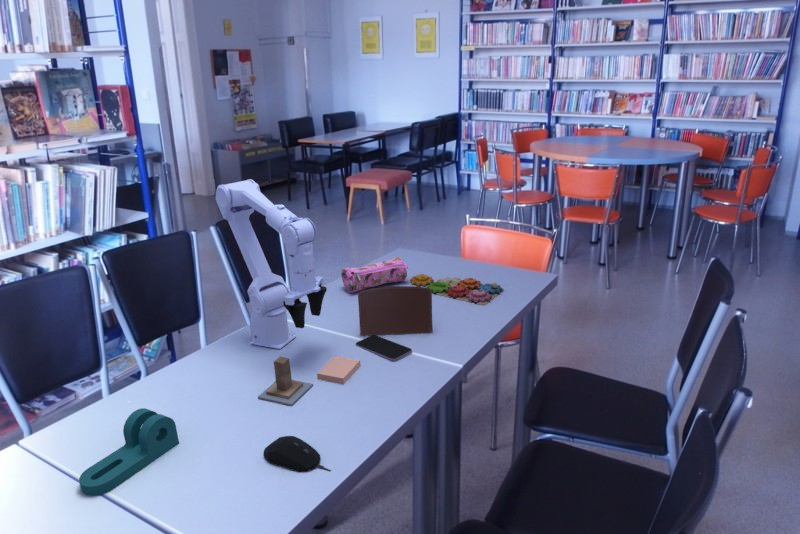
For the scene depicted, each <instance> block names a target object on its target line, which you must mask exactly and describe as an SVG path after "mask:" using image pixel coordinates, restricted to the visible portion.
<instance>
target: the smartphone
mask: <svg viewBox="0 0 800 534" xmlns="http://www.w3.org/2000/svg"><path fill="white" fill-rule="evenodd" d="M355 346H356V347H358V348H360V349H362V350H365V351H367V352H370V353H371V354H373V353H374V355H376V356H378V357H380V358H383V359H384V360H388V361H389V362H392V363H393V362H398V361H400V360H401V359H404V358H405V357H408V356H409V355H411V354H412V352H413V349H412V348H410V347H407V346H406V345H402V344H401V343H398V342H395V341H393V340H389V339H387V338H384V337H382V336H380V335H371V336H366V337H365V338H363V339H360V340H359V341H357V342H355Z"/></svg>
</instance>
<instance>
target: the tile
mask: <svg viewBox="0 0 800 534" xmlns="http://www.w3.org/2000/svg"><path fill="white" fill-rule="evenodd" d="M360 367H361V360H359V359H354V358H349V357H348V358H347V357H342V356H336V355H334V357H332V358H331V359H330V360H329V361H328V362H327V363H326V364H325V365H324V366H323V367H322V368H321V369H320V370H319V371H318V372H317V373H316V377H317V380H319V379H321V380H320V381H324V380H325V382H331V383H335V384H340V383H341V385H344V384H346V382H347V381H348V380H349V379H350V378H351V377H352V376H353V375H354V374H355V372H356V371H358V369H359V368H360Z"/></svg>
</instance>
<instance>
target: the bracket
mask: <svg viewBox="0 0 800 534" xmlns="http://www.w3.org/2000/svg"><path fill="white" fill-rule="evenodd" d="M122 431H123V437H124V441H125V443H124V445H123V446H120V447H119V448H117V449H116V450H115V451H113V452H111V453H109V455H107V456H105V457H104V458H102V459H100V460H99V461H97V462H96V463H94V464H93V465H91V466H89V467H88V468H86V469H85V470H84V471H82V473H81V474H80V476H79V478H78V481H79V485H80V489H81V492H82V494H83V495H85V496H88V497H98V496H102V495H104V494H107V493H109V492H111V491H113V490H115V489H116V488H118V487H119V486H121V485H122V484H123V483H125V482H126V481H127V480H130V479H131V477H133V476H135V475H136V474H138V473H139V472H141V471H142V470H144V469H145V468H146V467H147V466H149V465H151V464H152V463H154V462H155V461H156V460H158V459H159V458H161V457H162V456H164V455H165V454H166V453H168V452H170V451H172V449H174V448H175V447H176V446H178V445H179V444H180V441H179V435H178V430H177V425H176V422H175V420H174V419H173V418H172V417H169V416H166V415H164V414H161V413H157V412H156V411H154V410H151V409H148V408H145V407H144V408H138V409H135V410H134V411H133V412H131V414H129V415H128V417H127V418H126V420H125V422H124V424H123V428H122Z"/></svg>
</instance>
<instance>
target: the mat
mask: <svg viewBox="0 0 800 534" xmlns="http://www.w3.org/2000/svg"><path fill="white" fill-rule="evenodd" d="M292 381H296V382H301V383H303V387H302V388H300V389H299V390H298V391H297V392H296V393H295V394H294V395H293V396H292V397H291V398H290V399H285V398H280V397H276V396H271V395H267V394H266V391H267V390H268V389H269V388H270V387H272V386H273V385H274V384H275V383H276V380H275V381H274V382H273V383H272V384H271V385H269V386H268V387H267V388H266V389H264V391H263V392H261V393H260V394H259V395H257V399H258V400H262V401H267V402H271V403H276V404H281V405H284V406H289V407H293V406H294V405H295V404H296V403H297V402H298V401H300V399H301V398H302V397H303V396H304V395H306V393H307V392H308V391H309V390H310V389H312V387H314V383H309V382H305V381H300V380H295V379H292Z"/></svg>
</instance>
